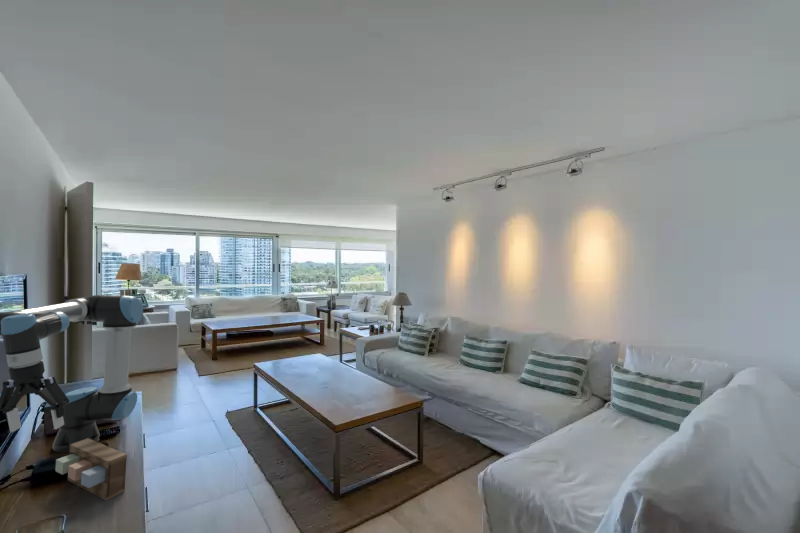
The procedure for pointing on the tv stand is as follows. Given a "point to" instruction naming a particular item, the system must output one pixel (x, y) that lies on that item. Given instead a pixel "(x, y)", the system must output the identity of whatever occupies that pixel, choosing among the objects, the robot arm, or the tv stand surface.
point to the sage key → (66, 463)
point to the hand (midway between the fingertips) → (37, 428)
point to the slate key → (93, 476)
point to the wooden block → (109, 460)
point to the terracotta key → (78, 469)
